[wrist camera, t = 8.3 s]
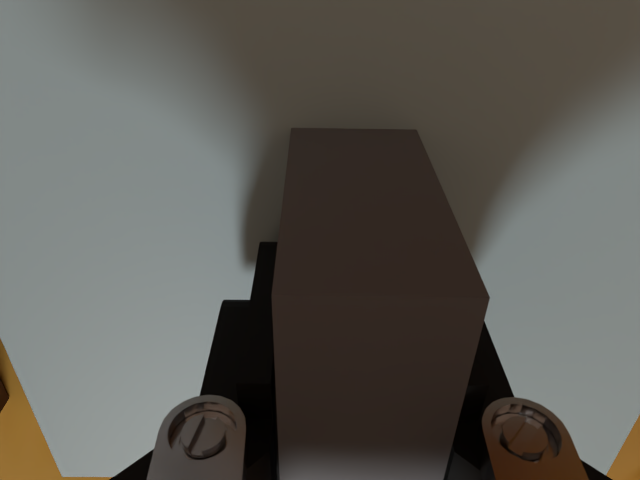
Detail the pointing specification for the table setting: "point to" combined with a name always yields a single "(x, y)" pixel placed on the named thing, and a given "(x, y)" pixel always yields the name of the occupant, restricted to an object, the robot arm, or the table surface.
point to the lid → (321, 217)
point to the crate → (3, 396)
